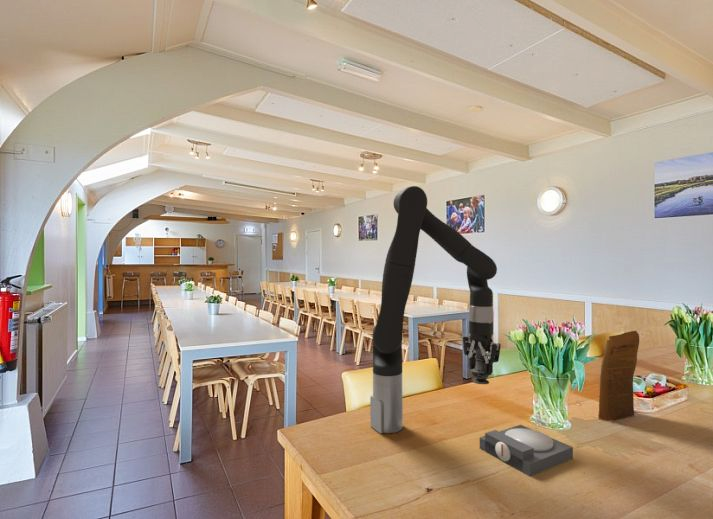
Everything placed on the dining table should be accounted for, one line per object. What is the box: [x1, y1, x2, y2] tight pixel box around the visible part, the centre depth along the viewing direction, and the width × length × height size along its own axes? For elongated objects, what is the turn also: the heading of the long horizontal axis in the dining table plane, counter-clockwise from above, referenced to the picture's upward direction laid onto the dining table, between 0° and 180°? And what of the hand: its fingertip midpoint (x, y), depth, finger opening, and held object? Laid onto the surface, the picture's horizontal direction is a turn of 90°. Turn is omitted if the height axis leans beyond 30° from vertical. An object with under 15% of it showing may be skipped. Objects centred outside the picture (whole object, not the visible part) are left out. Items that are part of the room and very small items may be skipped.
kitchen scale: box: [479, 424, 574, 477], centre depth 105 cm, size 17×16×5 cm
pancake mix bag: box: [598, 330, 640, 421], centre depth 129 cm, size 7×19×28 cm, turn 112°
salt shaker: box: [470, 349, 490, 385], centre depth 125 cm, size 6×6×12 cm
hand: (480, 371), depth 125 cm, fingers closed on salt shaker, 6 cm apart
